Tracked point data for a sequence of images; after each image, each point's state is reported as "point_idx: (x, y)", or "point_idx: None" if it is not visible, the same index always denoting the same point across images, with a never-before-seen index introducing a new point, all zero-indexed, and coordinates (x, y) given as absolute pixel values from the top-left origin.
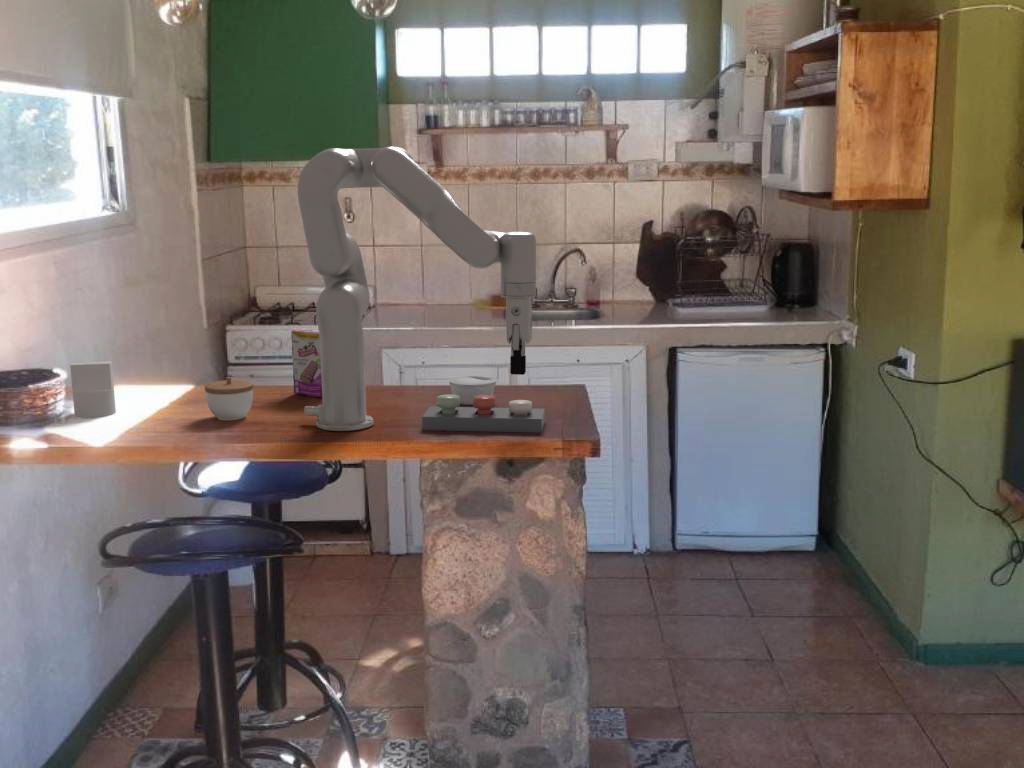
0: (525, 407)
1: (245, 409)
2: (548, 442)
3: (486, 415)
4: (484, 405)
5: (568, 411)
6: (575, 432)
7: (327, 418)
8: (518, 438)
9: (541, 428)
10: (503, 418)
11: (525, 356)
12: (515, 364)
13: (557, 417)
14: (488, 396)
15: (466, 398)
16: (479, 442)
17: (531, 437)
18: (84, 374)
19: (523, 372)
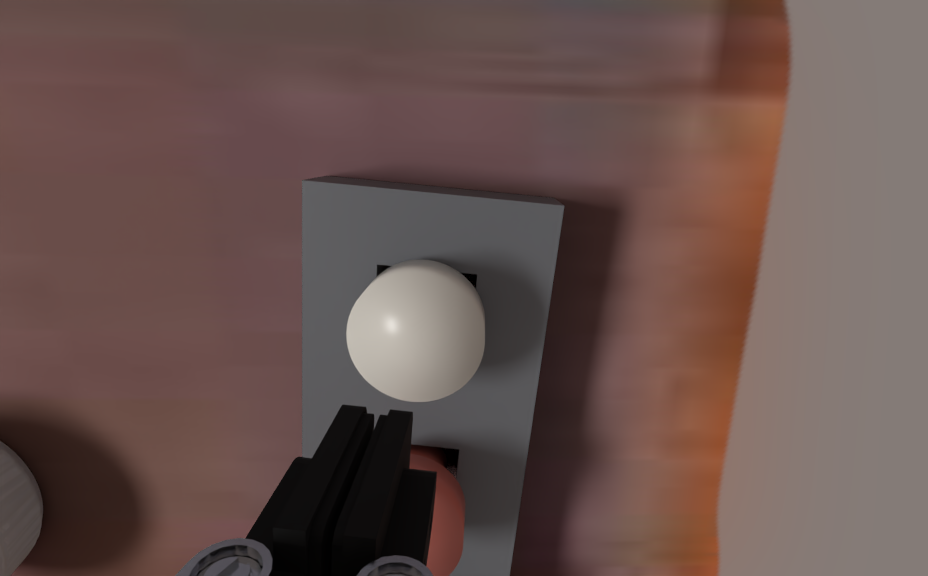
0: (479, 306)
1: None
2: (748, 167)
3: (472, 474)
4: (464, 517)
5: (75, 33)
6: (556, 10)
7: None
8: (652, 307)
9: (556, 200)
10: (534, 399)
11: (310, 523)
12: (425, 563)
13: (225, 103)
14: None
15: (27, 535)
16: (701, 461)
17: (640, 248)
18: None
19: (409, 429)
